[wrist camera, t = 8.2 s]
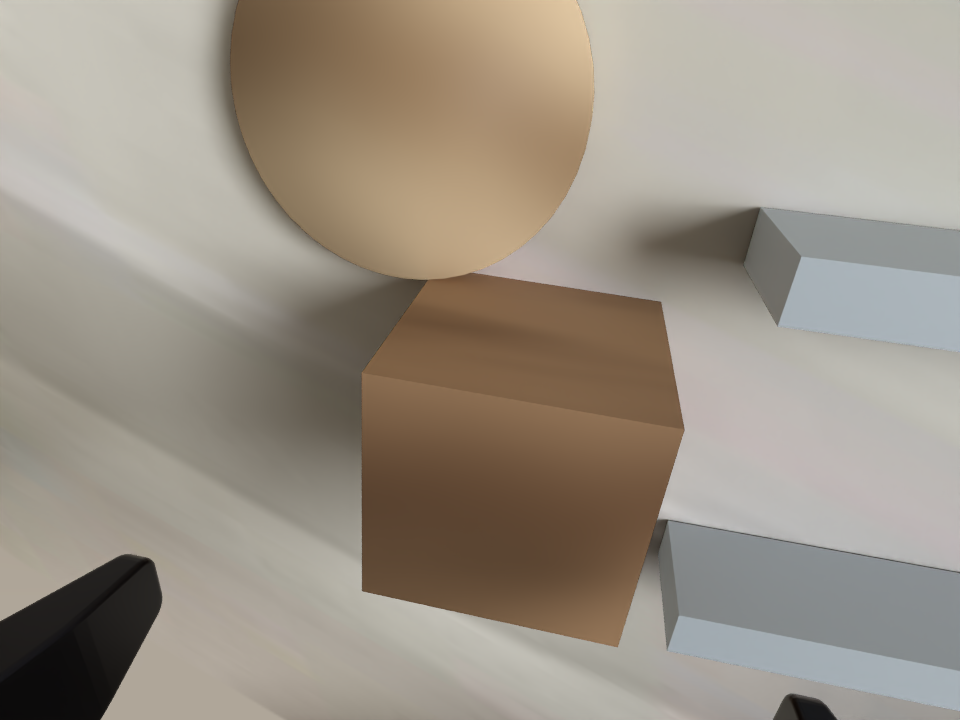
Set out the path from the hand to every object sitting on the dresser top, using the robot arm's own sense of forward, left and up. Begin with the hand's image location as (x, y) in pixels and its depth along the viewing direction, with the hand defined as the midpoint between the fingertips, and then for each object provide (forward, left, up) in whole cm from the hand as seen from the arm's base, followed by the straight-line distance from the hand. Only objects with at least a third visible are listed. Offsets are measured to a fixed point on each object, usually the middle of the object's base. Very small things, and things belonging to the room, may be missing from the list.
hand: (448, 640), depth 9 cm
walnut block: (0, 0, -7) cm, 7 cm away
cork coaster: (+6, +3, -7) cm, 10 cm away
